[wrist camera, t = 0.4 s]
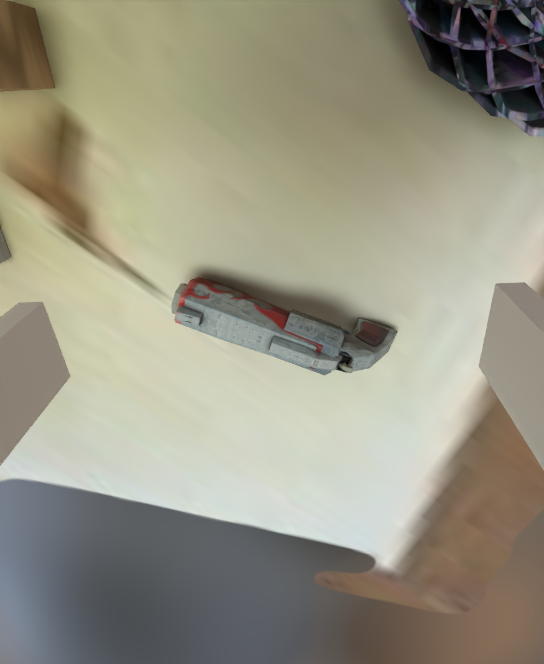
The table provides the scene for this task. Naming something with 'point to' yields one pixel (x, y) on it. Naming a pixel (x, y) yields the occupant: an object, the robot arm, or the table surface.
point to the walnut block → (22, 50)
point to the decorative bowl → (487, 53)
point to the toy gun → (279, 329)
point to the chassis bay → (3, 248)
